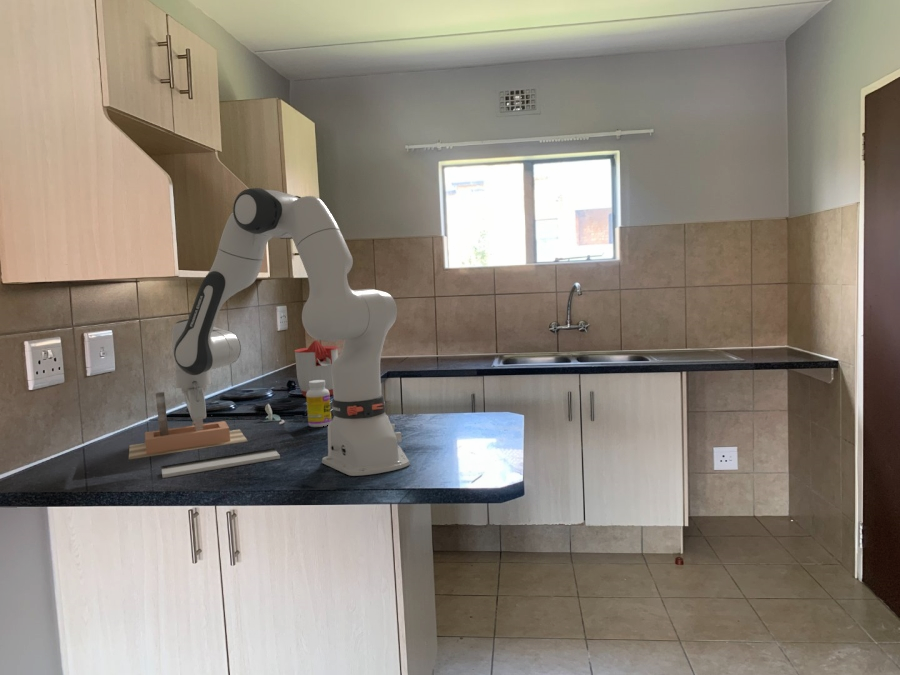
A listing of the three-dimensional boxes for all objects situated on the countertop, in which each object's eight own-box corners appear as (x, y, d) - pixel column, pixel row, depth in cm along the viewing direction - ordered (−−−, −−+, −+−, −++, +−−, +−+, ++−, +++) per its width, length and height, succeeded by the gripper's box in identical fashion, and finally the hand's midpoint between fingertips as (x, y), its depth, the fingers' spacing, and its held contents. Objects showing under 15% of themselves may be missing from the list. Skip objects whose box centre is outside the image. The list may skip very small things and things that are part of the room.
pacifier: (286, 421, 206) (266, 422, 205) (285, 401, 205) (265, 401, 205) (282, 427, 199) (261, 427, 198) (281, 405, 198) (260, 406, 198)
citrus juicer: (307, 401, 235) (302, 344, 233) (292, 395, 250) (287, 341, 248) (349, 395, 243) (345, 339, 241) (332, 389, 258) (328, 336, 256)
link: (230, 441, 177) (229, 427, 177) (146, 453, 169) (145, 440, 169) (226, 433, 186) (224, 421, 186) (146, 445, 178) (144, 432, 178)
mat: (280, 458, 163) (279, 455, 163) (162, 477, 152) (162, 474, 152) (270, 446, 175) (269, 443, 175) (160, 463, 165) (160, 460, 165)
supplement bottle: (326, 427, 193) (323, 382, 192) (304, 427, 194) (301, 383, 193) (335, 422, 199) (331, 378, 198) (314, 422, 201) (310, 379, 199)
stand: (248, 446, 176) (242, 387, 175) (129, 465, 165) (122, 402, 163) (240, 434, 191) (235, 379, 189) (130, 450, 179) (123, 392, 178)
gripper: (209, 383, 173) (214, 436, 174) (202, 373, 191) (207, 421, 193) (182, 386, 170) (187, 440, 172) (178, 375, 189) (183, 424, 190)
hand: (198, 430), depth 182 cm, fingers open, 8 cm apart
